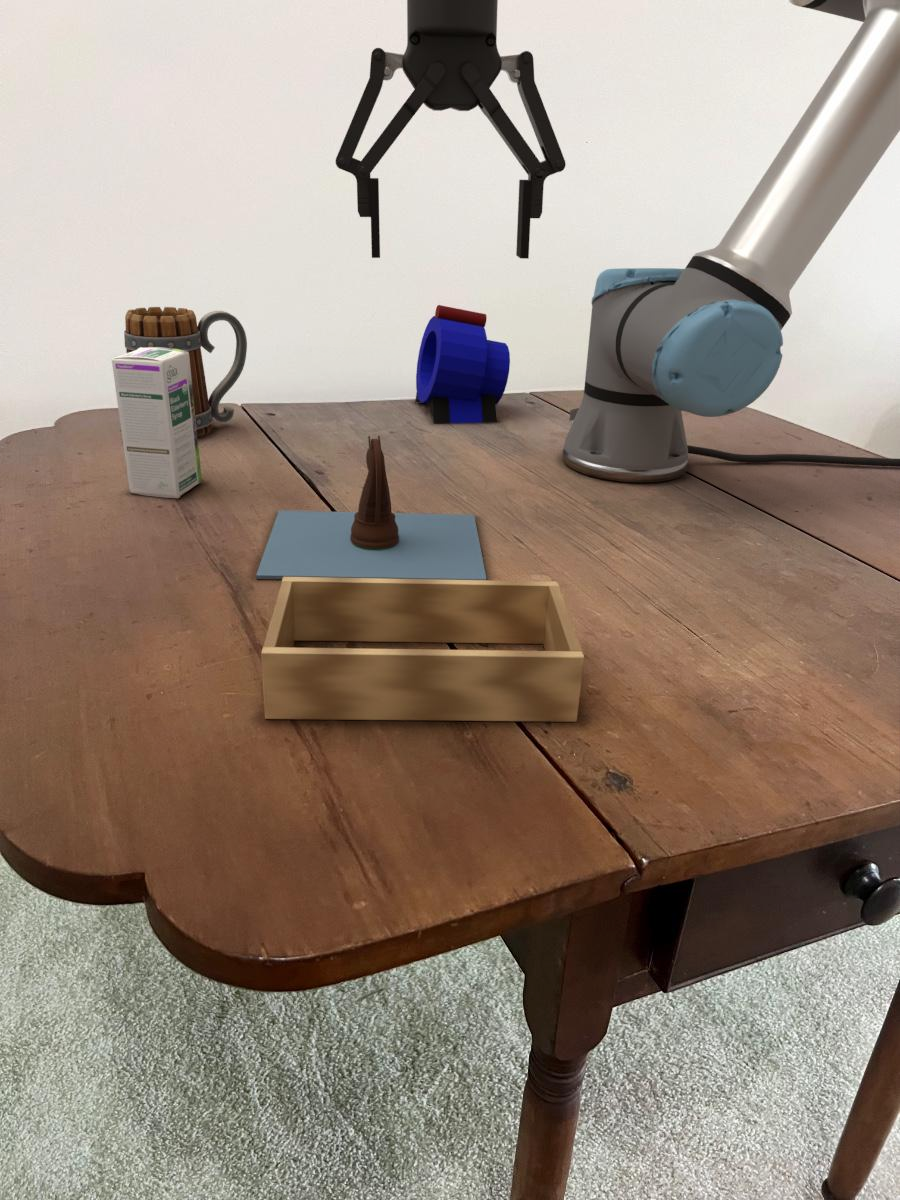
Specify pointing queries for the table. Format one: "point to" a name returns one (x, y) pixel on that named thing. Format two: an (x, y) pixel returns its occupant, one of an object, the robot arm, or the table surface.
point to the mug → (185, 335)
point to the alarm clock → (460, 368)
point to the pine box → (421, 651)
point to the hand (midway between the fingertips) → (449, 257)
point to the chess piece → (375, 506)
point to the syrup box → (157, 421)
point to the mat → (328, 551)
